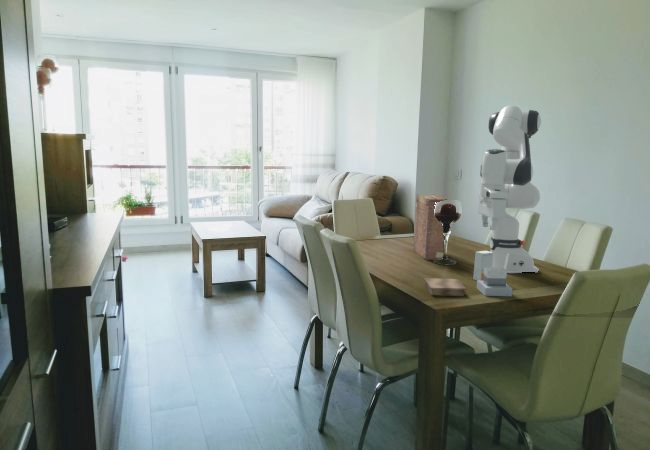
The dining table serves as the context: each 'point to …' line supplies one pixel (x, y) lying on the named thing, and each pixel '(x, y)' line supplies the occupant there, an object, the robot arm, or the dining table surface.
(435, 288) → the tan flat square slab
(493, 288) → the grey stand
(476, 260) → the skincare box
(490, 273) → the block
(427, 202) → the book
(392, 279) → the dining table surface
